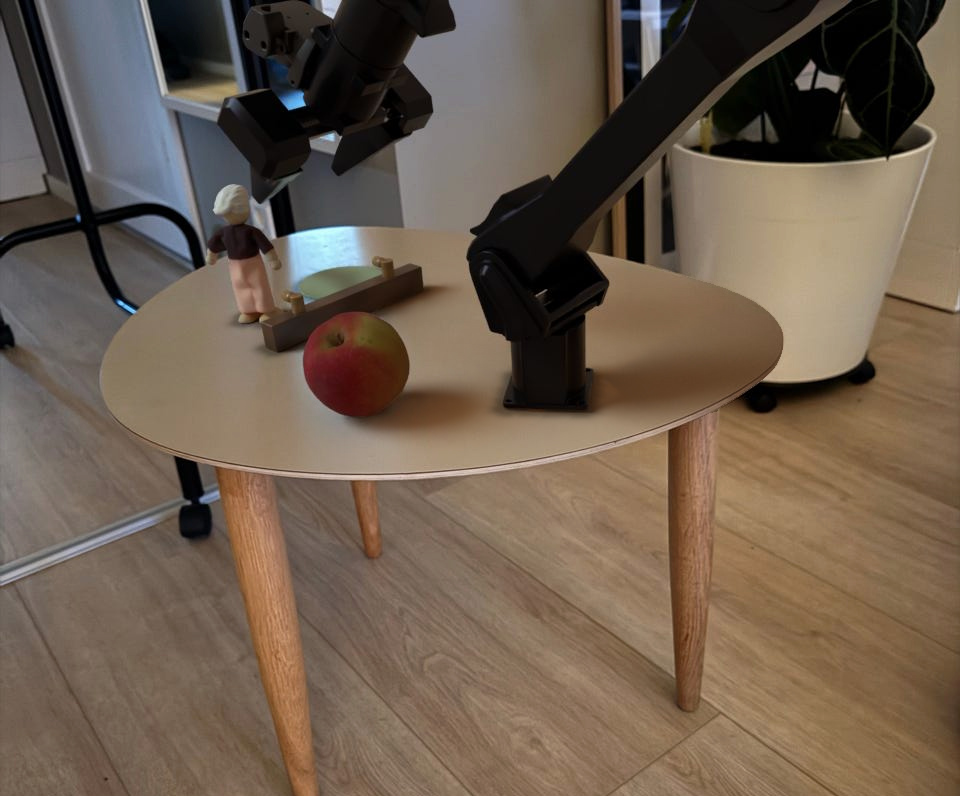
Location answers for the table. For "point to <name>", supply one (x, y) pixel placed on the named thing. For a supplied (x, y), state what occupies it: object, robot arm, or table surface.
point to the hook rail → (340, 298)
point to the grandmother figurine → (244, 255)
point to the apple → (356, 364)
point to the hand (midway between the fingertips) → (297, 185)
